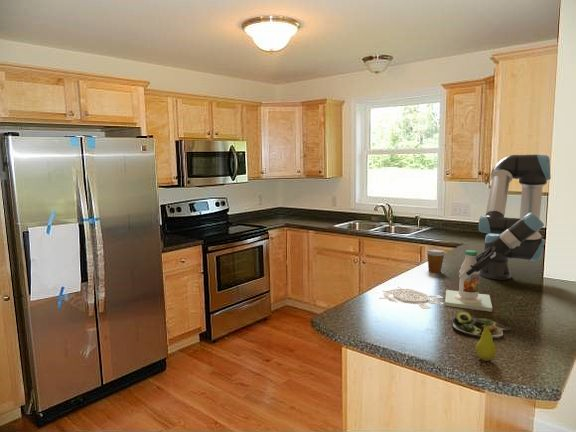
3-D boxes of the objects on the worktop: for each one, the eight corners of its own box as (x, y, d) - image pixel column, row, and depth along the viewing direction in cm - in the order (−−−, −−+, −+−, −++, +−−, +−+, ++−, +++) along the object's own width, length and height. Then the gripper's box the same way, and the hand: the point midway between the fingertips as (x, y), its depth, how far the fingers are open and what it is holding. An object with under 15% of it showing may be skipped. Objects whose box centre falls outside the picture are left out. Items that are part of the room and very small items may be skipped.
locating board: (446, 292, 189) (446, 289, 189) (489, 298, 182) (489, 294, 182) (444, 305, 173) (445, 301, 172) (492, 311, 166) (492, 307, 165)
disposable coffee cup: (436, 268, 231) (437, 248, 230) (447, 273, 223) (448, 251, 221) (421, 270, 228) (423, 249, 227) (433, 274, 220) (434, 252, 218)
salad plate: (507, 325, 153) (508, 313, 153) (514, 344, 137) (515, 331, 136) (452, 317, 161) (453, 306, 160) (452, 335, 144) (452, 322, 144)
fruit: (492, 366, 121) (495, 328, 120) (472, 360, 125) (474, 322, 124) (497, 359, 126) (500, 322, 124) (478, 353, 130) (480, 317, 128)
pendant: (391, 286, 200) (392, 284, 200) (450, 298, 183) (451, 295, 182) (372, 298, 183) (372, 295, 183) (434, 312, 166) (434, 309, 166)
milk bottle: (455, 296, 177) (458, 251, 174) (462, 292, 182) (465, 248, 180) (474, 300, 172) (477, 253, 169) (480, 296, 177) (483, 250, 174)
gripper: (515, 254, 159) (467, 289, 167) (509, 244, 177) (466, 276, 186) (501, 240, 160) (454, 275, 168) (496, 231, 179) (454, 264, 187)
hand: (460, 276), depth 177 cm, fingers closed on milk bottle, 7 cm apart
